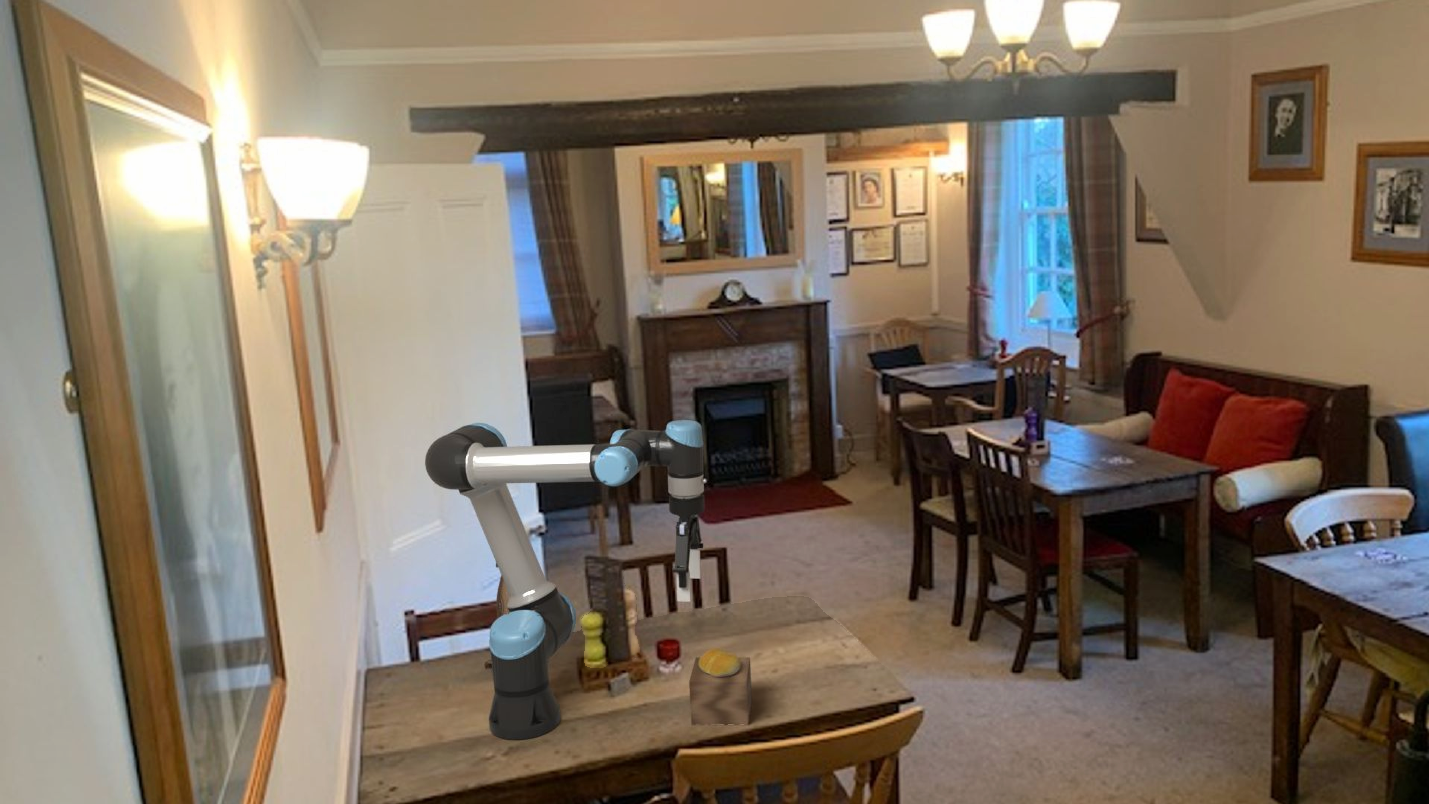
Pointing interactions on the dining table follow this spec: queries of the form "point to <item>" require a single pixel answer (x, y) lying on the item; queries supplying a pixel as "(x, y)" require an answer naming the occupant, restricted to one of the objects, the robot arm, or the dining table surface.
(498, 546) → the robot arm
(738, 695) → the walnut block
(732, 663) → the bread roll
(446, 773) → the dining table surface
